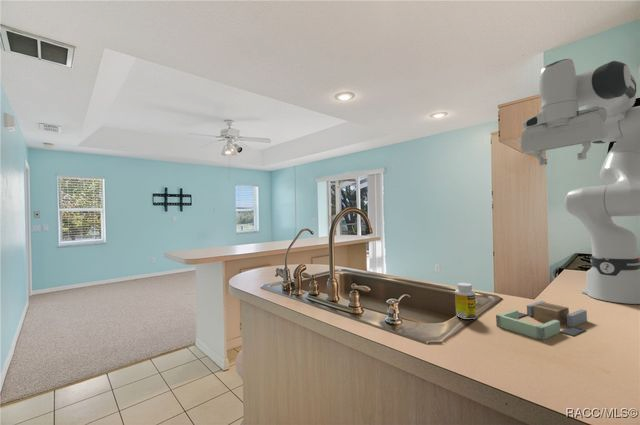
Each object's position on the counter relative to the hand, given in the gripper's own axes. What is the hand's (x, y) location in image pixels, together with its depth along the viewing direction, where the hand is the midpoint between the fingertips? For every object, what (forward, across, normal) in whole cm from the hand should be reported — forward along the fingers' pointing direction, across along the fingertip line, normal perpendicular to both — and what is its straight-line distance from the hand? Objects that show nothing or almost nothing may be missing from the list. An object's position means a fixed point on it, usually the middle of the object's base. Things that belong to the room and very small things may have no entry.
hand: (561, 162), depth 88 cm
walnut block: (+46, +2, +8) cm, 46 cm away
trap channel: (+46, +2, +13) cm, 47 cm away
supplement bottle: (+46, +18, +24) cm, 55 cm away
